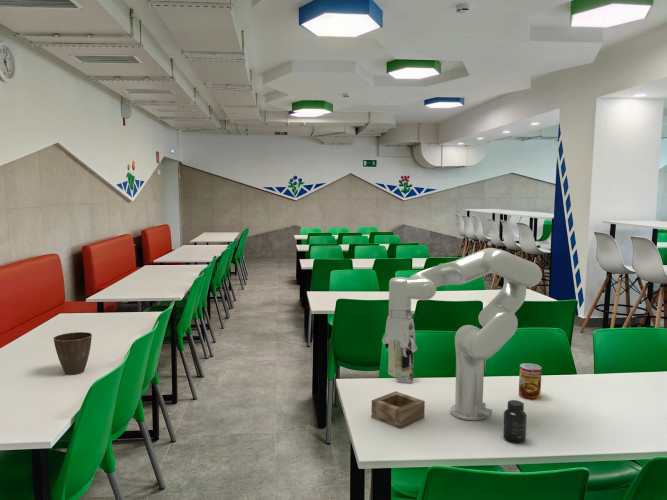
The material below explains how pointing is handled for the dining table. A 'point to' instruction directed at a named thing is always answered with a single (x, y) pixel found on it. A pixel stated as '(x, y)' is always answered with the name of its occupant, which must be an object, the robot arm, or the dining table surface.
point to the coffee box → (409, 377)
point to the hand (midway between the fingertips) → (398, 364)
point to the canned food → (530, 381)
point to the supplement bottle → (515, 422)
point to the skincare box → (396, 360)
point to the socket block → (398, 409)
